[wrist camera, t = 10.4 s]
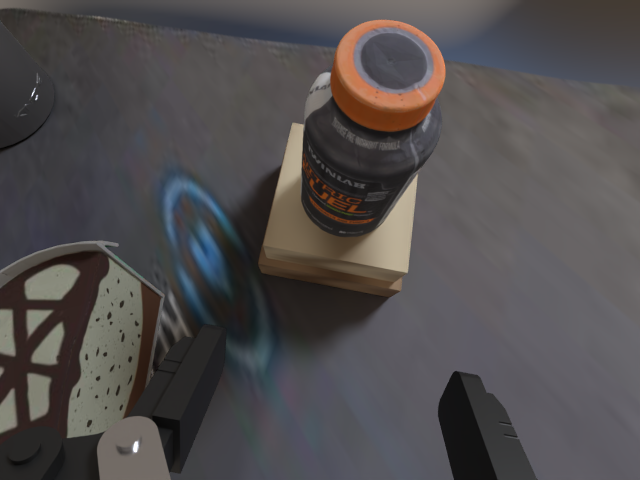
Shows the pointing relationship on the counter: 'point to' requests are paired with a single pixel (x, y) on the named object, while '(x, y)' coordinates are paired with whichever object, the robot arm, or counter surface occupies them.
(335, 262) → the tower base
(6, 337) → the food container
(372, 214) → the pill bottle
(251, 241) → the counter surface
